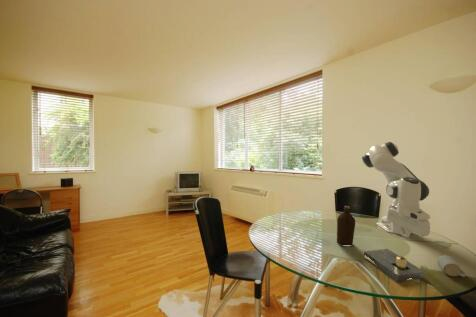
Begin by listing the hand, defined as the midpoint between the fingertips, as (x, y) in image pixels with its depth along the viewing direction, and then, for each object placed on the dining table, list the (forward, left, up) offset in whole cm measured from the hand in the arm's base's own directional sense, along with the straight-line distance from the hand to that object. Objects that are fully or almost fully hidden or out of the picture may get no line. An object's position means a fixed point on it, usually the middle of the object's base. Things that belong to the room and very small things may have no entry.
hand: (405, 236), depth 113 cm
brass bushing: (0, 0, -20) cm, 20 cm away
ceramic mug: (+5, +26, -20) cm, 33 cm away
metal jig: (-5, 0, -20) cm, 21 cm away
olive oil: (-33, -9, -20) cm, 40 cm away
